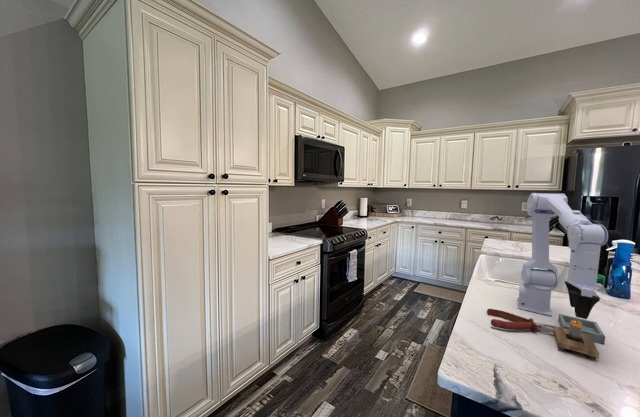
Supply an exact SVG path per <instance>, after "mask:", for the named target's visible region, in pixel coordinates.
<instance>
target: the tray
mask: <svg viewBox="0 0 640 417" xmlns="http://www.w3.org/2000/svg"><path fill="white" fill-rule="evenodd" d="M574 319H575V320H578V321H580V322H581V323H582V330H581V333H585V334H589V335H590V336H591V338H592V340H593V342H594V343H598V344H602V345H605V341H606V336H605V334H604V333H603V330H602V329H601V327H600V326H599V324H598V323H597V321H592V320H589V319H588V320H587V319H583V318H578V317H576V316H575V317H574V316H571V315H567V314H564V313H563V314H561V313H558V319H557V320H558V324H559V327H561V328H565V329H569V330H570V321H571V320H574Z"/></svg>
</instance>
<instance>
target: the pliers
mask: <svg viewBox="0 0 640 417" xmlns="http://www.w3.org/2000/svg"><path fill="white" fill-rule="evenodd" d="M486 314H487V315H488V316H491V317H495V318H493V319H491V320H490V324H491V326H493V327H494V328H497V329H502V330H506V331H507V330H508V331H531V332H532V333H538V331H541V332H545V333H546V332H547V333H552V334H553V333H554V328H553V327H554V326H555V325H550V324H547V323H542V322H538V321H537V322H536V321H534V319H533V318H531V317H530V318H526V317H523V316H519V315H516V314H514V313H511V312H508V311H504V310H501V309H494V308H488V309H487V310H486ZM496 318H500V319H496ZM501 318H502V319H505V320H506V321H505V320H501ZM507 320H508V321H507ZM554 334H555V333H554Z"/></svg>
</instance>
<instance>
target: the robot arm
mask: <svg viewBox="0 0 640 417" xmlns="http://www.w3.org/2000/svg"><path fill="white" fill-rule="evenodd" d="M526 201H527V202H526V211H527V215H528V216H529V217H531V223H532V224H531V259H530V260H528V261H527V262H525V263H523V264H522V269H521V275H520V276H521V280H522V282H523V283H521V282H519V287H518V288H519V289H518V290H519V291H518V296H517V300H516V301H517V304H518V305H517V306H518V309H519V310H520V309H521V310H525V311H528V312H532V313H536V314H539V315H540V314H541V315H546V316H550V317H552V316H553V313H552V311H551V298H552V291H554V290H555V288H557V287H558V286H559V285H560V276H559V272H558V270H559V269H558V267H556V266H555V265H554V264H553V263H551V262H550V219H551V218H554V217H557V216H558V222H559V224H560V225H561V226H562V228H563V229H565V230H566V232H567V239H568V248H569V249H570V254H569V255H570V256H569V265H568V272H567V273H568V274H567V275H568V276H567V278H566V281H564V284H565V286H566V288H567V293H568V297H569V298H568V299H569V304H570V308H574V313H575V314H574V315H575V317H576V318H580V319H584V320H587V319H588V317H589V316H590V314H591V311H592V309H593V307H595V305H596V304H597V303H598V302H600V300H601V298H600V297H599V296H596V295H593V294H594V291H595V289H597V288H598V289H599V288H600V289H602V288H603V284H601V283H599V282H597V281H598V273H599V264H600V256H601V247H602V246H604V245H606V244H607V243H608V240H609V233H608V230H607V228H606V227H605V225H603V224H596V223H592V222H591V220H589V219H588V218H587V217H586V216H585V215H584V214H583V213H582V212H581V211H580V210H573V209H572V208H571V206H570V205H569V204H568V196H566V194H565V193H561V192H560V193H540V192H539V193H538V192H531V193H530V194H529V195H528V198H527V200H526Z"/></svg>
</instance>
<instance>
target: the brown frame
mask: <svg viewBox="0 0 640 417" xmlns="http://www.w3.org/2000/svg"><path fill="white" fill-rule="evenodd" d="M553 326H554V327H553V328H554V337H555V339H556V343H557V346H558V348H559V350H561V351H563V352H565V351H566V349H567V350H570V351H573V352H578V353H580V354H584V355H587V356H588V358H589V359H592V360H596V359H597V358H598V359H599V358H600V352H599V350H598V348H597V346H596V344H595V342H593V340H592V338H591V336H590V335H589V334H585V333H581V339H580V342H576V341H573V340H569V329H565V328H561V327H560V326H556V325H553Z"/></svg>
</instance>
